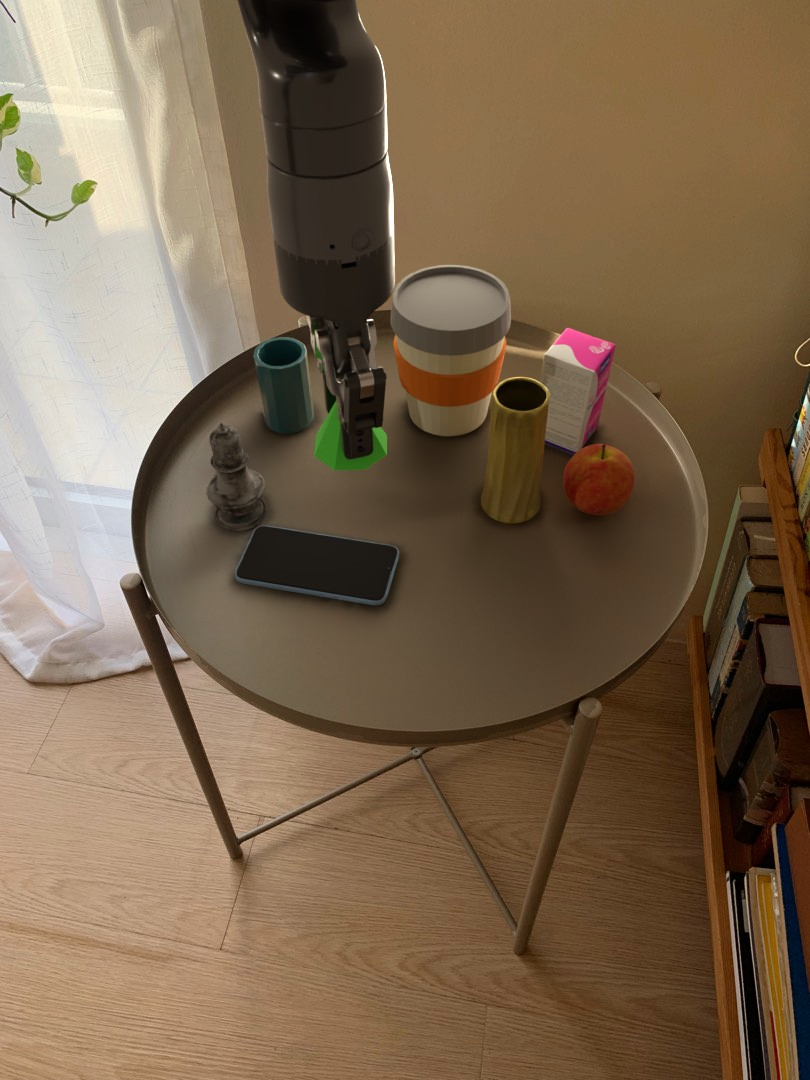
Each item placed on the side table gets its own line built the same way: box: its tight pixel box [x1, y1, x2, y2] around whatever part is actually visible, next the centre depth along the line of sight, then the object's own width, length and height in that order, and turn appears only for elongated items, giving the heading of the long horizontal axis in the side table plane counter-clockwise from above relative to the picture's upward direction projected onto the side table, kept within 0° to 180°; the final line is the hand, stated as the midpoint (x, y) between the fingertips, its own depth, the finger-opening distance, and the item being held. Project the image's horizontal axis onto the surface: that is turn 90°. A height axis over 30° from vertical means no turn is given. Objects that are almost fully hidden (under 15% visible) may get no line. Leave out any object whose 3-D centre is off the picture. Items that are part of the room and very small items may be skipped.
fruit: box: [562, 443, 635, 516], centre depth 88 cm, size 7×7×8 cm
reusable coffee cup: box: [390, 264, 512, 437], centre depth 96 cm, size 13×13×15 cm
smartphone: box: [234, 525, 400, 606], centre depth 86 cm, size 7×1×15 cm
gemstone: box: [313, 401, 388, 471], centre depth 66 cm, size 6×6×6 cm
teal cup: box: [252, 336, 315, 435], centre depth 98 cm, size 6×6×9 cm
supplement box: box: [539, 327, 617, 456], centre depth 94 cm, size 6×6×12 cm
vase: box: [480, 376, 550, 524], centre depth 86 cm, size 6×6×14 cm
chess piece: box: [205, 422, 268, 532], centre depth 87 cm, size 6×6×12 cm
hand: (349, 432), depth 67 cm, fingers closed on gemstone, 4 cm apart
